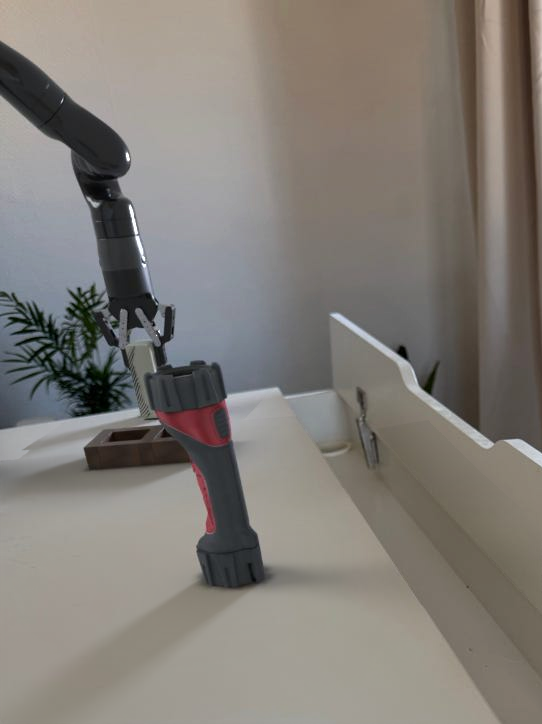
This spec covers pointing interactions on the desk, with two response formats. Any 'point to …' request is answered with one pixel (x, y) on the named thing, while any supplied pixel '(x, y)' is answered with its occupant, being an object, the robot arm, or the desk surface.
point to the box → (142, 371)
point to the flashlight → (209, 467)
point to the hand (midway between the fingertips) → (147, 368)
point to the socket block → (134, 448)
